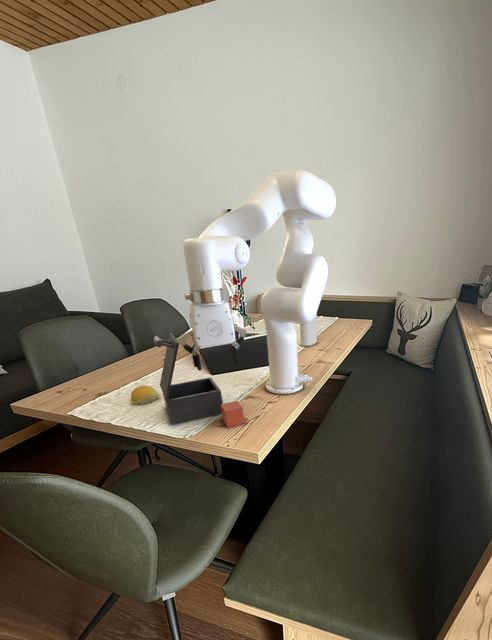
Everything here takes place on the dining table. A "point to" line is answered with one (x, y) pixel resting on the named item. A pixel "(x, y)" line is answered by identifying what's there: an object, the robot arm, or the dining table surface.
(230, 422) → the block
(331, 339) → the dining table surface
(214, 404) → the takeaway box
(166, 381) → the lid
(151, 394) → the bread roll
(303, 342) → the paper towel roll
